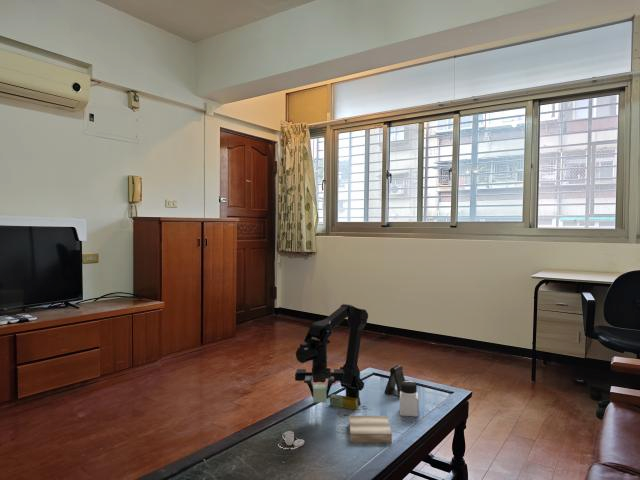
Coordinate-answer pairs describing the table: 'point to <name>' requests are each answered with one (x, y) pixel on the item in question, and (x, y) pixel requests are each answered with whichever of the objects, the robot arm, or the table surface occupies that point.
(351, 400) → the medication box
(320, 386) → the green cube
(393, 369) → the phone stand
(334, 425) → the table surface
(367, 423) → the base block
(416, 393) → the medicine bottle
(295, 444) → the teacup and saucer
